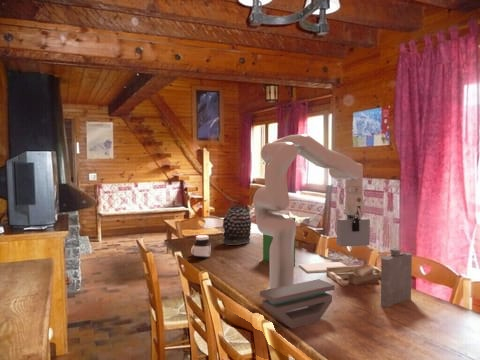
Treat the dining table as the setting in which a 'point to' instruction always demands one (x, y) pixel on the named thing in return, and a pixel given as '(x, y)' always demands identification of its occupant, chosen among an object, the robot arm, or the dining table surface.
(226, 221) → the bumpy dark dome
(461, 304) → the dining table surface
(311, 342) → the dining table surface
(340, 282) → the rack
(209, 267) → the dining table surface
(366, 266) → the pine offcut
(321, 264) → the felt mat
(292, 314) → the sharpening stone
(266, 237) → the hardback book
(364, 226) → the grey rectangular block
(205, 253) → the spread jar
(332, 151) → the robot arm
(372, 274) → the walnut offcut
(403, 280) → the hip flask
